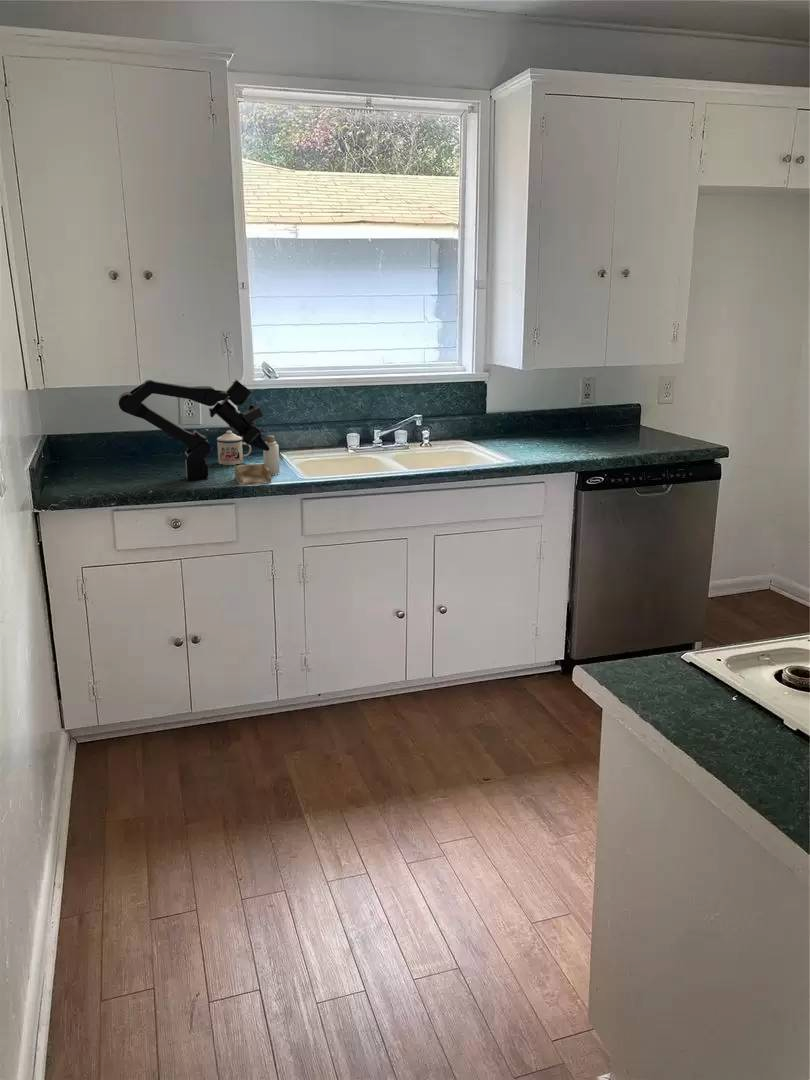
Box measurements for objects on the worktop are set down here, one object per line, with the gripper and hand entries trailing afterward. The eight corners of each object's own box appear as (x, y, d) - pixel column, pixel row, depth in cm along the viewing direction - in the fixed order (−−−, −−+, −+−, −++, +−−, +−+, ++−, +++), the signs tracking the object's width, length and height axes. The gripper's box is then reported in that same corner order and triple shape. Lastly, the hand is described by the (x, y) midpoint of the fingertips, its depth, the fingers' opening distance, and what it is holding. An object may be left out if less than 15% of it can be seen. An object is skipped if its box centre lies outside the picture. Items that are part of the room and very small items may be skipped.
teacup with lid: (217, 466, 294) (215, 433, 290) (218, 460, 303) (216, 429, 299) (251, 465, 296) (250, 432, 293) (251, 459, 305) (250, 428, 301)
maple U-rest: (240, 485, 267) (239, 472, 266) (235, 478, 276) (234, 465, 275) (271, 482, 271) (270, 470, 270) (265, 476, 280) (264, 463, 278)
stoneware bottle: (265, 475, 280) (264, 437, 276) (262, 472, 285) (261, 435, 281) (281, 474, 282) (279, 436, 278) (277, 471, 287) (276, 434, 283)
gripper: (252, 402, 265) (287, 434, 272) (244, 394, 282) (278, 425, 289) (228, 427, 265) (264, 459, 272) (222, 418, 282) (256, 448, 289)
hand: (266, 447), depth 280 cm, fingers open, 9 cm apart
